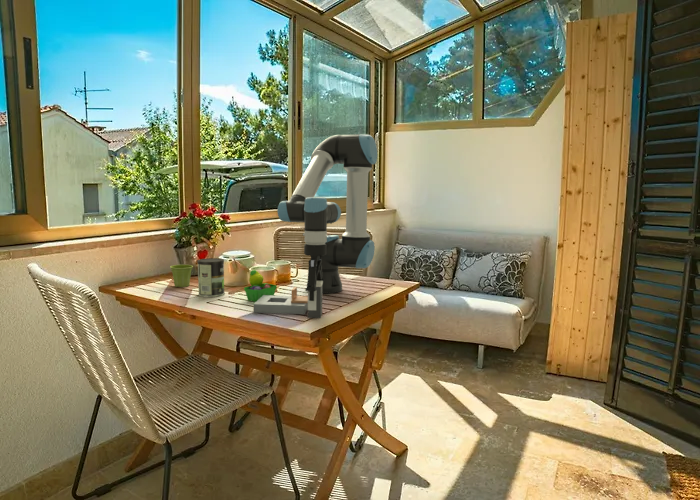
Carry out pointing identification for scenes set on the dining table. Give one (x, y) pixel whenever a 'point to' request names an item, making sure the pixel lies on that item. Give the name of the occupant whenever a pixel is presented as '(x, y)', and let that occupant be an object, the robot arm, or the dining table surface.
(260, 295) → the fruit basket
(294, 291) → the tan plate with tab
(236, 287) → the dining table surface
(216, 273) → the coffee can
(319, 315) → the plug
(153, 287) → the dining table surface
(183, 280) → the plant pot
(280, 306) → the socket
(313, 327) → the dining table surface
